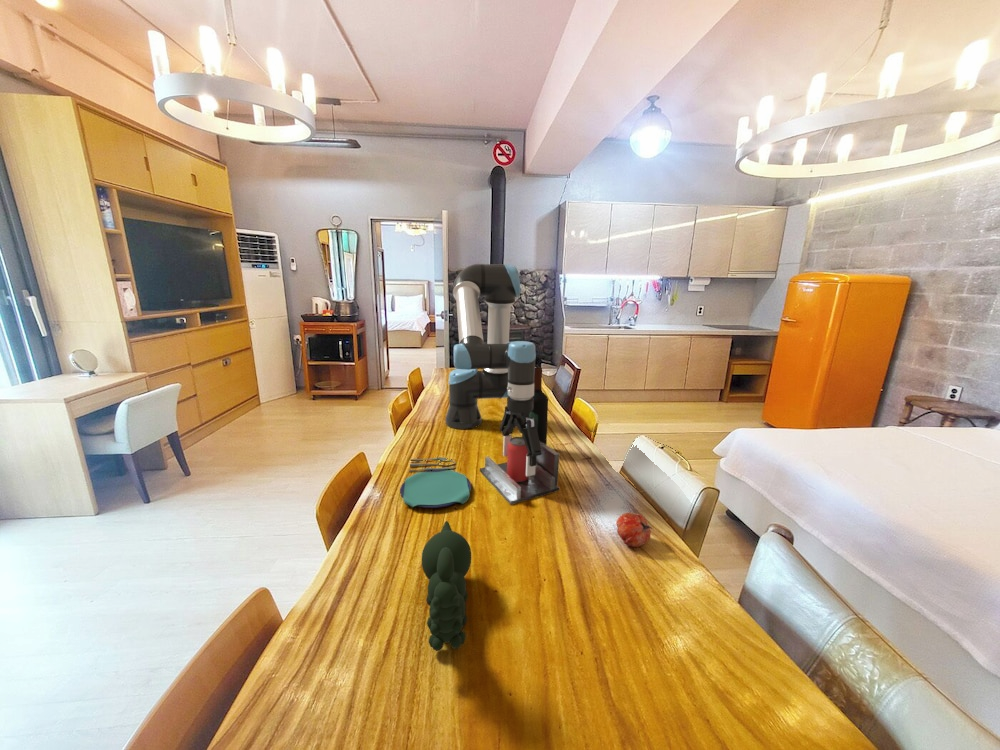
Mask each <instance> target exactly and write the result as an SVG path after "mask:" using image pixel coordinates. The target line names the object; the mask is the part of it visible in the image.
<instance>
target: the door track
mask: <svg viewBox="0 0 1000 750" xmlns="http://www.w3.org/2000/svg"><path fill="white" fill-rule="evenodd" d="M521 437H523V436H522V435H521ZM539 442H540V446H541V451H542V455H538V456H536V468H535V475H532V476H529V477H528V479H527V480H526V481H523V482H515V481H514V480H513V479H512V478H511V477H510V476H509V475H508V474H507V462H503V463H499V464H498V463H496V462H495V461H494V460H493V459H492V457H490V456H485V457H484V467H481V468H479V472H480V473H481V474H482V476H483V477H484V478H485V479H486V480H487V481H488V482H489V483H490V484H491V486H493V488H494V489H496V491H498V493H499V494H500V495H501V496H502V497H503V498H504V499H505V500H506V501H507V502H508V504H509V505H510V506H511V505H514V504H519V503H522V502H526V501H527V500H528V501H529V500H532V499H535V498H538V497H541V496H544V495H545V496H546V495H549V494H553V493H555V492H558V491H560V486H558V481H559V467H560V466H559V465H560V464H559V463H560V453H559V452H557V451H556V450H555V449H553V448H551V447H550V446H548V445H547V444H546V445H545V444H544V443H542V442H541V441H539Z"/></svg>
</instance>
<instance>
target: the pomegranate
mask: <svg viewBox="0 0 1000 750" xmlns="http://www.w3.org/2000/svg"><path fill="white" fill-rule="evenodd" d="M615 523H616V527H617V529H616V531H617V532H616V533H617V535H618V536H619V537H620V538H621V540H622V541H623V543H624V544H625V545H626V546H629V547H632V548H639V547H641V546H643V545H644V544H646V543H648V541H650V539H651V535H652V534H651V533H652V532H651V530H652V529H653V528H652V527H651V526H650V525H648V522H647V519H646V518H645V517H644V515H642V514H639V513H634V512H631V511H630V512H625V513H622V514H621V515H620V516H618V518H617V520H616V522H615Z"/></svg>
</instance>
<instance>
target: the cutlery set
mask: <svg viewBox="0 0 1000 750" xmlns="http://www.w3.org/2000/svg"><path fill="white" fill-rule="evenodd" d="M446 458H447V459H448V458H449V457H440V456H439V457H438V456H437V457H435V458H427V459H426V458H425V459H424V458H421V459H420V458H410V460H409V461H423V460H425V461H426V460H434V461H437V460H440V461H439V462H437V463H424V462H423V463H422V462H420V463H410V464H409V465H410V466H409V467H411V466H412V467H418V466H419V467H421V466H432V467H426V468H425V467H424V468H419V469H408V470H409V473H410V472H416V473H414V474H412V475H410V476H409V477H406V478H405V480H404V482H403V483H402V484H401V485H400V488H399V492H400V497H401V498H402V501H403V502H404V504H406V505H407V506H409V507H411V508H414V507H420V508H425V509H427V508H429V509H438V508H444V507H449V506H452V505H454V504H458V503H460V504H462V505H463V504H464V505H465V503H467V501H468V500H469V499H470V492H471V491H472V483H471V481H470V479H469V478H468V477H467V476H466V474H463V473H461V472H458V471H456V470H455V469H456V466H453V465H455V464H456V461H455V460H450V461H442V460H447V459H446ZM426 462H427V461H426ZM441 462H445V463H448V462H453V463H454V464H452V463H451V464H447V465H446V464H442V463H441ZM439 463H441V464H440V465H441V467H434V468H433V466H440V465H439ZM448 469H450V470H448ZM431 470H432V471H431ZM418 471H419V472H418Z"/></svg>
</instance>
